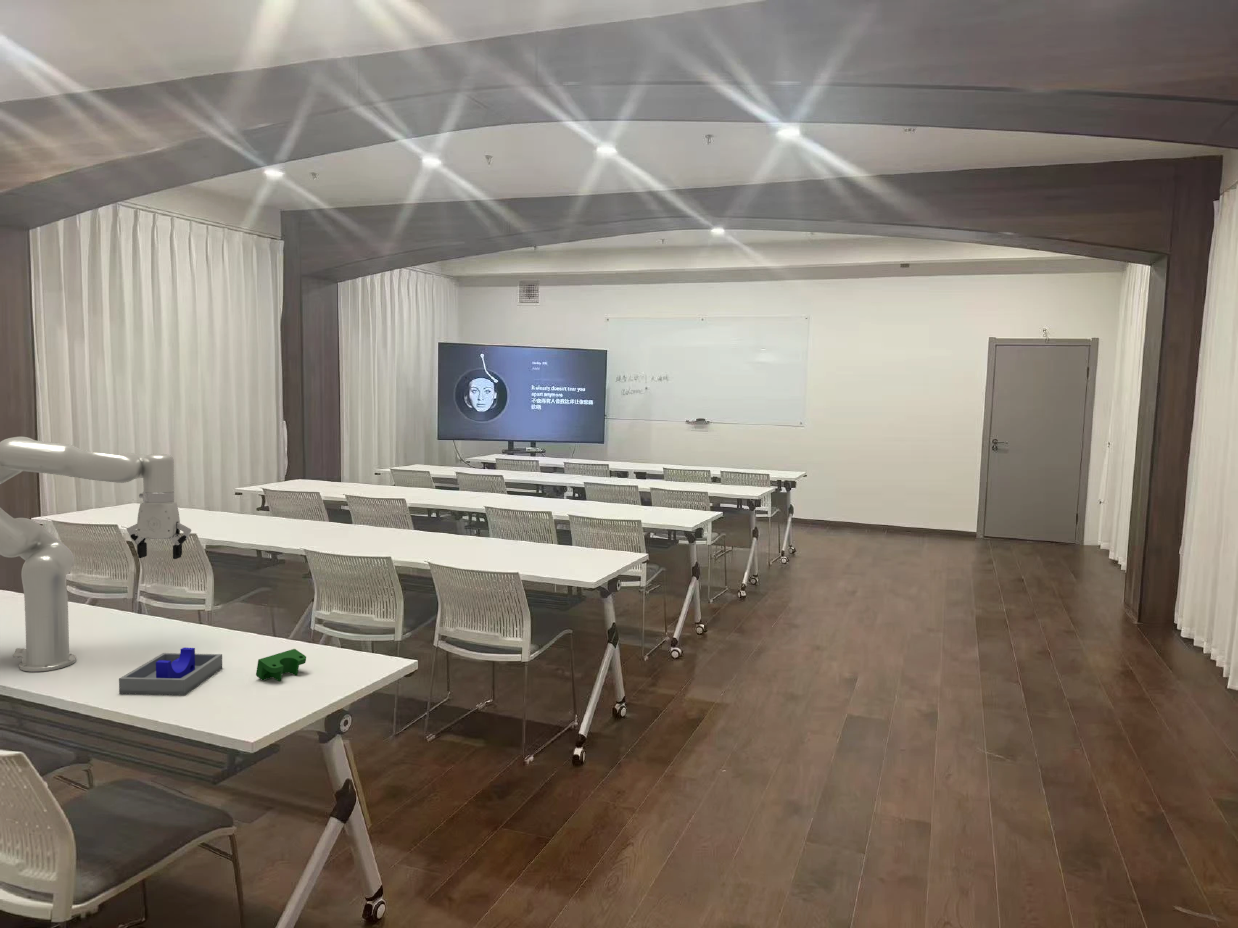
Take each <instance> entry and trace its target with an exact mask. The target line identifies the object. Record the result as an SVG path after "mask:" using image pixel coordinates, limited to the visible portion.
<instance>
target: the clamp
mask: <svg viewBox="0 0 1238 928" xmlns="http://www.w3.org/2000/svg"><path fill="white" fill-rule="evenodd" d="M306 662H307V655H305V654H303V653H302V652H300V651H299V650H297V649H296V648H292V649H287V650H285V651H282V652H279V653H275V654H272V655H268V656H266V657H262V658H259V659H258V661H257V666H256V670H255V671H256V673H255V676H256V677H257V678H258V679H260V680H261V681H266V680H269V679H275V680H276V681H277V682H282V678H283V675H284V674H290V675H293V676H294V677H297V676H298V673H299V668H300V666H301V665H304V664H305V663H306Z"/></svg>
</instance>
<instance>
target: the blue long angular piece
mask: <svg viewBox="0 0 1238 928" xmlns="http://www.w3.org/2000/svg"><path fill="white" fill-rule="evenodd" d="M195 650H196V647H182V648H180V652H179V653H180V657H179V658H178V659H176V660H174V661H173V662H172V664H171V661H166V660H159V661H157V662H156V678H182V677H183V676H185V675H187V674H188V673H190V672H192V671H194V670H195V654H196V651H195Z"/></svg>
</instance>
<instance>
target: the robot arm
mask: <svg viewBox="0 0 1238 928" xmlns="http://www.w3.org/2000/svg"><path fill="white" fill-rule="evenodd" d="M174 469H175V461H174V457H173V455H171V454H168V453H167V454H164V453H153V454H152V453H151V454H144V453H143V454H141V453H134V452H125V453H122V454H111V453H103V452H94V451H91V450H86V449H81V448H79V447H78V446H76V445H73V444H70V443H69V444H68V443H58V442H50V441H42V440H35V439H33V438H31V437H27V436H14V437H9V438H5V439H3V440H1V441H0V485H2V484H3V483H5V482H6V481H8V480H10V479H12V478H13V477H16V476H18V475H19V474H21V473H22V472H29V473H39V474H40V473H41V474H48V475H49V474H50V475H57V476H62V477H63V476H64V477H68V478H69V477H70V478H78V479H84V480H92V481H96V482H97V481H99V482H105V483H106V482H107V483H117V484H118V483H120V484H126V483H129V482H132V481H133V480H136V479H143V480H142V482H143V483H142V484H143V485H142V486H143V488H142V489H143V492H141V493H139V495H138V497H139V498H140V499H142V501H143V502H141V503H139V507H138V513H137V521H136V523H135V524H134V525H131V526H128V527H127V528H126V530H127V532H128V534H129V535H130V539H132V540H133V541H134V543H135V545H136V551H137V552H136V554H137V558H138V559H142V558H145V557H147V556H148V543H147V542H145V541H146V540H147V539H149V540H150V539H154V540H169V539H170V540H171V541H172V543H173V544H174V545H172V559H173V560H177V559H180V558H182V555H183V544H184V543H185V542H186V541H187V540H188V539H189V536H190V534H191V533H192V529H191V528H190V527H188V526H186V525H184V524H182V523H181V519H180V511H179V508H178V504H177V502H175V470H174ZM181 531H182V532H183V534H182V535H181V536H180V534H181ZM0 556H2V557H5V558H16V557H20V558H21V559H22V560H24V563H23V565H22V568H21V583H22V588H23V596H24V597H23V598H24V618H25V620H24V621H25V623H24V624H25V648H21V647H19V648H18V647H17V648H16V649H15V650H14V653H12V657H13V658H16V659H18V658H21V662H20V663H19V664H18V666H19V670H21V671H24V672H30V673H31V672H32V673H33V672H49V671H54V670H58V669H62V668H65V667H70V665H73V664H75V662H77V656H76V655H75V654H72V653H70V630H69V626H70V625H69V623H70V622H69V598H68V597H69V596H68V595H69V594H68V587H67V582H66V581H67V579H66V577H67V576H66V575H68V574H69V573H70V572H71V570H72V569H73V567H74V564H75V556H74V554H73V551H72V550H71V549H70V548H69V547H68V546H67V545H66V544H64V542H62V541H61V540H60V539H58V538H57V537H56V536H55V535H54V534H52V533H51V532H50V531H49V530H47V529H46V528H45V527H44V526H43V525H41V524H40V523H39V522H37V521H36V520H33V519H32V518H31V519H30V518H26V517H16V518H15V517H13V516H12V515H10V514H9V513H7V512H6V511H5V510H3V508H2V507H0Z"/></svg>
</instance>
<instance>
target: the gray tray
mask: <svg viewBox="0 0 1238 928" xmlns="http://www.w3.org/2000/svg"><path fill="white" fill-rule="evenodd" d="M179 657H180V652H162V653H161V654H158V655H157V656H155V657H154V658H152V659H150V660H149V661H147V662H145V663H143V664H142V665H140V666H138V667H137V668H134V669H133V670H132V671H129V672H127V673H126V674H124V675H123V676H121V677H120V678H118V690H119V691H118V695H131V696H132V695H133V696H135V695H137V696H138V695H140V696H142V695H143V696H178V697H179V696H183V697H184V696H186V695H187V694H189V693H190V692H192V691H193V690H194V689H196V688H197V687H199V686H200V685H201V684H203V683H205V681H208V679H210V678H211V677H212V676H214V675H215V674H216V673H218V672H219V671H221V670H222V669H223V654H222V653H195V670H194V671H192V672H190V673H188V674H187V675H185V676H183V677H182V678H156V662H157V661H159V660H166V661H171V664H172V662H173V661H174V660H176V659H178V658H179Z"/></svg>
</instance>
